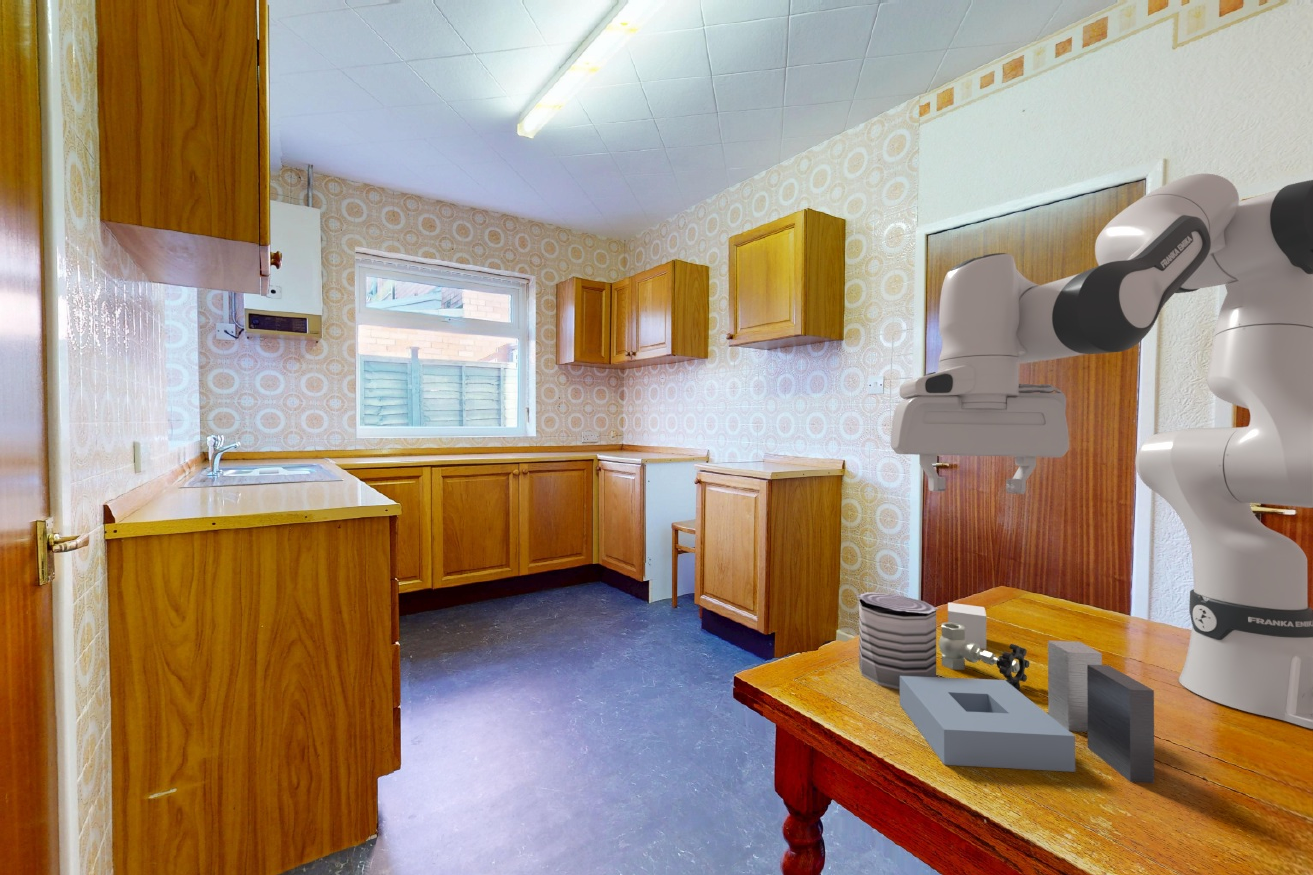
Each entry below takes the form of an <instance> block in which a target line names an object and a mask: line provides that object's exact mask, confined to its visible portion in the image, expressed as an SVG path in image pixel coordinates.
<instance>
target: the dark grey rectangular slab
mask: <svg viewBox="0 0 1313 875" xmlns="http://www.w3.org/2000/svg"><path fill="white" fill-rule="evenodd" d="M1087 708H1088V732H1087V749H1089V750H1090V751H1091V752H1092V753H1094V754H1095V755H1096V756H1098V757H1099V759H1100V760H1102V761H1104V762H1105V763H1106V764H1107V765H1108V766H1110V767H1111V768H1113V770H1115V771H1116V772H1117V773H1119V774H1120V775H1121V776H1122V777H1124V778H1125V779H1126V780H1127V781H1129V782H1130V783H1146V784H1155V690H1154V689H1152V688H1150V686H1147V685H1145V684H1143V683H1141V682H1140V681H1137V680H1136V679H1134V678H1132V677H1131V676H1128V675H1126V674H1125V673H1123V672H1122V671H1119V670H1118V669H1116V668H1114V667H1113V666H1111V665H1109V664H1108V665H1107V664H1102V665H1087Z"/></svg>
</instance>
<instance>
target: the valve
mask: <svg viewBox="0 0 1313 875" xmlns="http://www.w3.org/2000/svg"><path fill="white" fill-rule="evenodd" d="M938 647H939V651H940V652H941V666H943V667H945V668H948V669H950V670H953V671H954V670H955V671H956V670H958V671H959V670H962V671H963V670H966V669H965V668H966V663H965V662H966V661H967V662H970V663H973V664H976V663H977V662H980V661H981V662H983V663H985V664H986V665H990V666H994V665H996V666H997V668H998V671H999V673H1000V674H1001V675H1003V677H1004V678H1005V679H1002V680H1006V681H1007V682H1008V683H1009V684H1011V685H1012V686H1013V687H1014V688H1016V689H1017V690H1018V691H1019V690H1020V688H1021V684H1020V681H1021V682H1023V683H1025V682H1026V681H1027V679H1028V677H1027V675H1026V674H1025V669H1028V668H1029V667H1030V664H1031V663H1030V660H1027V659H1025V657H1026V656H1027V653H1028V651H1027V649H1026V648H1024V647H1021V646H1019V645H1017V644H1015V643H1010V645H1009V649H1010V650H1011V652H1007V651H1003V653H1002V654H1001V655H998V657H997V656H996V654H994V653H993V652H990V651H987V650H983V649H980V646H979V645H978V644H975V643H972V642H969V643H967V642H966V640H965V627H964V626H962V625H960V624H956V623H949V622H948V621H947V622H942V623H941V635H940V637H939V640H938ZM1015 659H1016V660H1018V661H1016V660H1015ZM1012 673H1014V674H1015V676H1013V675H1012Z"/></svg>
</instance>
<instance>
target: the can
mask: <svg viewBox="0 0 1313 875" xmlns="http://www.w3.org/2000/svg"><path fill="white" fill-rule="evenodd" d="M856 596H857V598H859V600H858V603H859V604H858V613H859V614H858V622H859V623H858V629H859V630H858V639H859V641H858V643H859V644H858V648H859V649H858V654H859V655H858V659H859V660H858V664H859V665H858V667H859V670H860V674H861V676H863V678H866V679H867V680H869V681H871V682H872V683H875V684H876V685H878V686H882V687H884V688H885V687H886V688H891V689H895V690H899V691H900V676H917V677H937V611H938V610H939V608H938V607H936V606H933V605H932V604H929V603H928V602H927V601H924V600H921V599H916V598H911V597H908V596H902V595H899V594H898V595H897V594H893V593H892V594H891V593H881V592H872V591H871V592H870V591H867V592H864V593H860V594H856Z"/></svg>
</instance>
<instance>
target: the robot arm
mask: <svg viewBox="0 0 1313 875" xmlns="http://www.w3.org/2000/svg"><path fill="white" fill-rule="evenodd" d="M1094 245H1095V246H1094V255H1095V260H1096V263H1097V266H1095V267H1093V268H1090V269H1087V270H1084V271H1082V272H1079V273H1077V274H1074V275H1070V276H1067V277H1064V278H1061V279H1057V280H1054V281H1050V282H1046V283H1043V284H1041V285H1040V284H1037V283H1035V282H1033V281H1031V280H1029V279H1028V278H1026V277H1025V275H1022V273H1021V272H1020V271H1019V270H1018V269H1017V264H1016V261H1015V257H1014V255H1012V254H1010V253H1007V252H1006V253H1005V252H996V253H989V254H983V255H981V256H977V257H973V258H970V259H968V260H965V261H963V262H961V263H958V264H957V265H954V266H952V267H951V269H949V270H948V271H947V272H946V275H945V277H944V280H943V281H942V282H943V283H942V286H941V287H942V288H941V292H940V298H939V317H938V319H939V320H938V331H939V335H940V337H941V343H942V344H941V345H942V346H941V352H940V355H939V358H938V370H937V371H936V372H935V371H934V372H928V373H927V374H924V375H923V376H920V377H916V378H913V379H910V380H907V381H906V382H904V383H902V384H901V385H899V386H900V387H899V397H900V398H901V399H904V400H901V401H900V402H899V403H898V404H897V405H896V406H895V408H894V412H893V414H892V415H893V416H892V421H891V430H890V446H891V449H892V450H893V452H894V453H896V454H897V455H916V456H918V455H919V465H920V467H921V468H922V470H923V471H924V473H925V475H926V476H927V477H928V490H929V492H930V491H931V492H946V488H947V486H946V483H947V482H946V481H947V478H946V477H944V476H939V474H938V472H937V471H936V468H935V467H934V465H935V464H936V465H937V464H938V456H966V457H967V456H971V457H973V456H974V457H975V456H976V457H1014V465H1015V466H1018V468H1017V470H1016V472H1014V475H1013V477H1012V478H1006V479H1005V485H1006V486H1005V491H1006V493H1008V494H1021V495H1022V494H1023V495H1024V494H1025V493H1026V491H1027V490H1026V488H1027V486H1026V485H1027V480H1028V479H1029V477H1030V476H1031V475H1032V473H1033V471H1034V470H1035V469H1036V468H1037V458H1062V457H1063V458H1064V456H1065V455H1066V453H1068V451H1069V449H1070V436H1069V428H1068V427H1069V426H1068V422H1067V421H1068V420H1067V416H1066V410H1067V396H1066V395H1065V393H1064V392H1063V391H1062V390H1061V389H1059V388H1057V387H1055V386H1054V385H1053V384H1049V383H1048V384H1047V383H1045V384H1044V383H1043V384H1041V383H1040V384H1030V383H1020V364H1028V363H1029V364H1031V363H1035V362H1036V363H1038V362H1043V361H1044V362H1045V361H1052V360H1056V359H1057V360H1058V359H1064V358H1071V357H1076V356H1078V357H1079V356H1084V355H1097V354H1098V355H1099V354H1100V355H1101V354H1110V353H1120V352H1126V351H1127V350H1130V349H1132V348H1134V347H1136V346H1137V345H1138V344H1139V343H1140V342H1142V340H1143V339H1144V338H1145V337H1146V336H1147V335H1148V334H1149V332H1150V331H1151V329H1152V328H1153V326H1154V325H1155V323H1156V321H1157V320H1158V317H1159V315H1160V312H1161V311H1162V308H1164V306H1165V305H1166V303H1167V302H1168V301H1169V300H1170V299H1171V297H1173V295H1174V294H1183V293H1192V292H1196V291H1197V290H1201V289H1204V288H1211V287H1218V286H1222V285H1223V286H1225V288H1226V295H1225V298H1224V300H1223V302H1222V305H1221V306H1220V307H1221V308H1220V311H1219V313H1218V315H1217V316H1218V317H1217V320H1216V322H1215V329H1214V334H1213V339H1212V344H1211V349H1210V354H1209V355H1210V357H1209V361H1208V362H1209V363H1208V368H1207V372H1206V373H1207V374H1206V380H1205V381H1206V385H1207V386H1208V388H1209V390H1210V392H1211V393H1212V394H1213V395H1214V396H1215V397H1217V398H1219V399H1220V400H1222V401H1225V402H1227V403H1229V404H1232V405H1235V406H1237V407H1241V408H1245V409H1248V411H1249V415H1250V416H1249V424H1248V426H1242V427H1241V426H1240V427H1238V426H1237V427H1234V426H1233V427H1195V428H1194V427H1193V428H1182V429H1176V430H1171V431H1166V432H1165V431H1164V432H1159V433H1156V434H1152V435H1150V436H1149V437H1147V438H1146V439H1145V440H1144V441H1143V442H1142V443H1141V445H1140V446H1139V448H1138V449H1137V452H1136V455H1135V460H1134V461H1135V470H1136V473H1137V475H1138V476H1139V478H1140V480H1141V481H1142V482H1143V484H1145V486H1146V487H1148V488H1149V489H1150V490H1152V491H1154V492H1155V493H1156V494H1157V495H1159V496H1160V497H1162V498H1163V500H1165V501H1166V502H1167V504H1169V505H1170V506H1171V508H1172V509H1173V510H1174V511H1175V513H1176V514H1177V516H1178V517H1179V519H1180V520H1181V522H1182V523H1183V526H1184V528H1185V530H1186V532H1187V535H1188V537H1189V543H1190V546H1191V547H1190V549H1191V558H1192V570H1193V572H1192V574H1193V575H1192V576H1193V589H1192V590H1189V604H1188V606H1189V612H1188V613H1189V616H1190V620H1191V624H1192V625H1191V631H1190V638H1189V644H1188V649H1187V652H1186V653H1187V654H1186V657H1185V662H1184V665H1183V669H1182V671H1181V673H1180V675H1179V678H1178V682H1179V683H1180V684H1181V685H1182V686H1183V687H1184V688H1185V689H1187V690H1189V691H1190V692H1192V693H1194V694H1197V695H1199V696H1201V697H1203V698H1206V699H1208V700H1210V701H1212V702H1215V703H1218V704H1221V705H1224V706H1227V707H1230V708H1233V709H1236V710H1237V709H1238V710H1241V711H1244V712H1248V713H1252V714H1255V715H1259V716H1262V717H1264V716H1265V717H1269V718H1273V719H1277V720H1281V721H1284V722H1288V723H1291V724H1294V725H1298V726H1301V727H1304V728H1307V729H1311V730H1313V609H1312V608H1311V607H1310V606H1309V605H1308V604H1309V603H1308V558H1307V556H1306V553H1305V552H1304V550H1303V549H1302V548H1301V547H1300V546H1299V544H1298V543H1296V542H1295V541H1294V540H1292V539H1291V538H1289V537H1287V536H1286V535H1284V534H1282V533H1280V532H1277V531H1275V530H1273V529H1271V528H1269V527H1267V526H1265V525H1264V524H1263V523H1262V522H1261V521H1260V520H1259V519H1258V517H1256V515H1255V513H1254V512H1253V509H1252V507H1251V506H1252V505H1251V504H1259V505H1260V504H1261V505H1275V506H1286V507H1296V508H1297V507H1298V508H1299V507H1300V508H1310V509H1313V179H1309V180H1305V181H1300V182H1295V183H1291V184H1288V185H1286V186H1283V187H1282V188H1281V189H1278V190H1274V191H1270V192H1268V193H1267V192H1266V193H1263V194H1260V195H1255V196H1253V197H1249V198H1246V199H1243V200H1241V201H1240V198H1239V192H1238V190H1237V188H1236V186H1235V185H1234V184H1233V183H1232V182H1231V181H1230V180H1229V179H1228V178H1225V177H1223V176H1221V175H1218V174H1214V173H1213V174H1212V173H1196V174H1192V175H1187V176H1184V177H1181V178H1178V179H1176V180H1173V181H1171V182H1168V183H1166V184H1164V185H1162V186H1160V187H1158V188H1156V189H1154V190H1153V191H1152V190H1151V191H1150V192H1149V193H1147V194H1145V195H1144V196H1142V197H1140V198H1139V199H1138V200H1136V201H1135V202H1133V203H1132V204H1130V205H1129V206H1127V207H1126V208H1124V209H1123V210H1122V211H1120V212H1119V213H1118V214H1117V215H1115V216H1114V217H1113V218H1112V219H1111V220H1110V221H1109V222H1108V223H1107V224H1106V225H1105V226H1104V228H1103V229H1102V230H1101V231H1100V233H1099V234H1098V235H1097V238H1096V240H1095V243H1094Z"/></svg>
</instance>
